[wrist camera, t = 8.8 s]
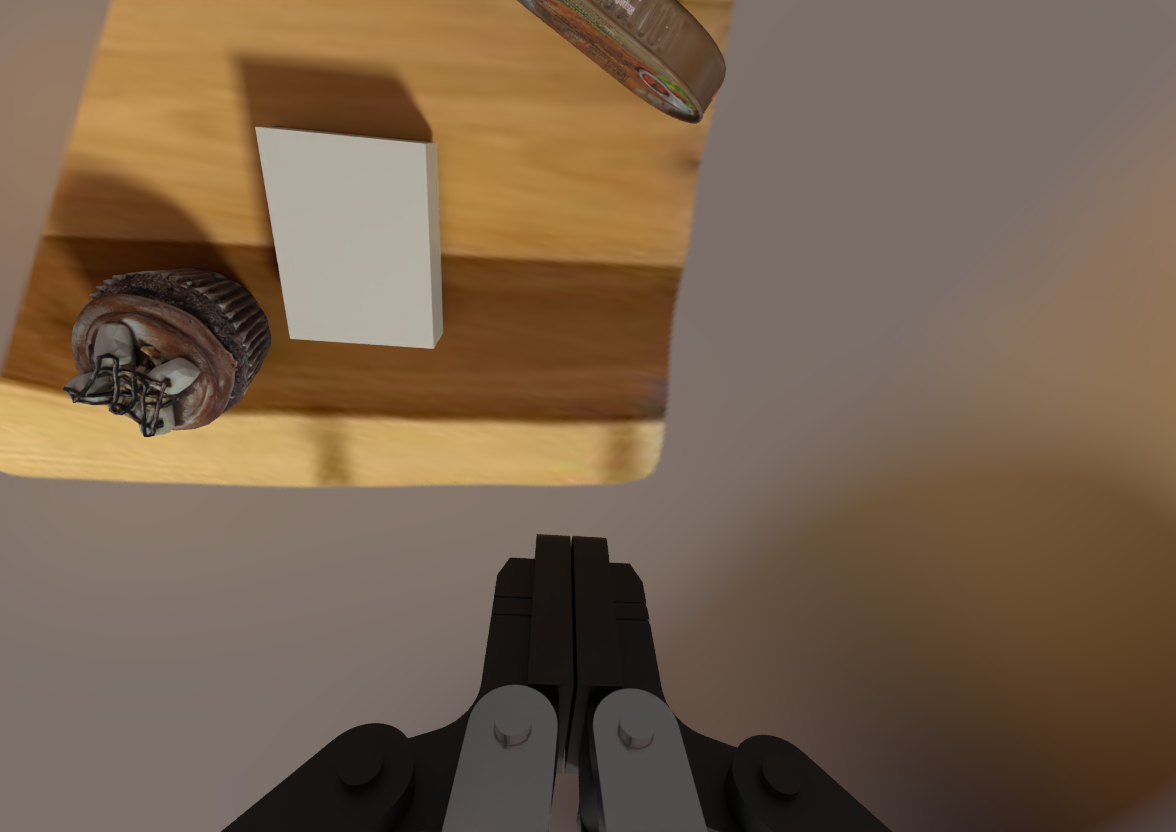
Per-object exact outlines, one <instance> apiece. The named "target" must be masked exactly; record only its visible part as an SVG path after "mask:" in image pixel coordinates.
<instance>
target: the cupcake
mask: <svg viewBox="0 0 1176 832" xmlns="http://www.w3.org/2000/svg"><path fill="white" fill-rule="evenodd" d="M112 278H113V279H110V280H103V281H104V285H102V286H96V289H97V291H98V292H97V293H91V294H90V295H89V297H90V298H92V299H93V300H92V301H91V302H86V303H85V307H84V309H83V310H82V311H81V312H80V314H79V315H78V317H77V320H76V322H75V324H74V327H73V330H72V350H73V357H74V361H75V366H76V369H77V371H78V372H79V374H80V376H77V377H74V378H73V379H71V380H70V381H69V382H68V383H67V384H66V386H65V387H64V389H63V390H64V391H65V392H66V393H67V395H68V396H69V398H70V399H72V401H73V403H76V402H77V403H81V404H90V405H106V404H108V407H109V411H110V412H112V413H113V414H116V415H124V416H127V417H129V418H131V419H133V420H134V421H136V422H137V423H138V424H139V428H140V431H141V433H142V434H143V436H144V437H151V436H155V435H162V434H166V433H168V432H170V431H171V430H187V429H196V428H199V427H202V426H205V425H208V424H210V423H211V422H212V421H214V420H215V419H217V418H218V417H219V416H220V415H221V414H222V413H224V412H226V411H227V410H229V409H230V408H231V407H233V406H234V405H236V404H238V403H240V402H241V399H242V397H243V396H244V394H245V393H246V391H247V389H248V387H249V385H250V384H251V382H252V380H253V378H254V376H255V375H256V374H257V372H258V371H259V370H260V367H261V365H262V362H263V360H264V359H265V357H266V355H267V352H268V350H269V347H270V345H271V334H270V330H269V326H268V320H267V318H266V316H265V314H264V312H263V311H262V310H261V308H260V305H259V304H258V303H257V302H256V300H255V299H254V298H253V297H252V296H251V295H250V294H249V293H248V292H247V291H246V290H245V289H244V288H243V287H242V286H241V285H240V284H239V283H237V282H234V281H231V280H230V279H228V278H226V277H225V276H223V275H221V274H219V273H217V272H214V271H210V270H201V269H195V268H185V269H171V270H159V271H143V272H135V273H125V275H113V277H112Z"/></svg>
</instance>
